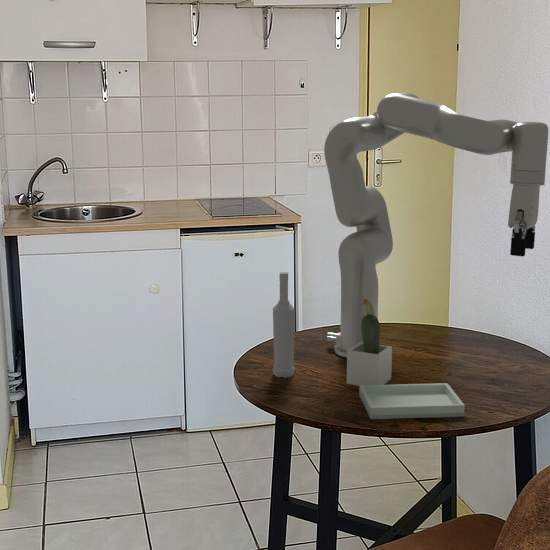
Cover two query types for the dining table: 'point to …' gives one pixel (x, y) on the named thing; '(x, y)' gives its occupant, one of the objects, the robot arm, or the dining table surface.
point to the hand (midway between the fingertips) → (522, 251)
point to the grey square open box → (369, 365)
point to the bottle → (283, 332)
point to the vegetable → (370, 329)
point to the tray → (410, 401)
